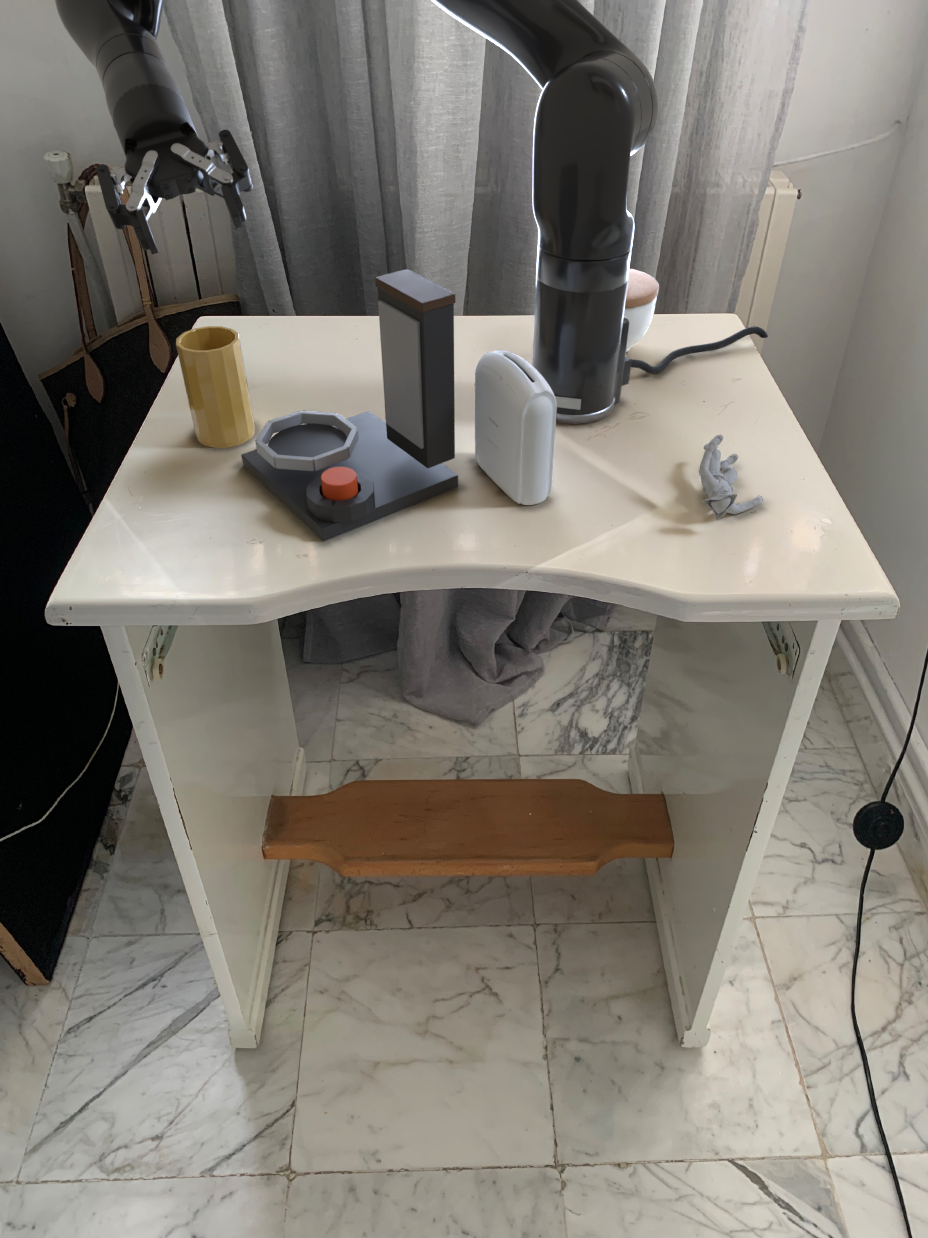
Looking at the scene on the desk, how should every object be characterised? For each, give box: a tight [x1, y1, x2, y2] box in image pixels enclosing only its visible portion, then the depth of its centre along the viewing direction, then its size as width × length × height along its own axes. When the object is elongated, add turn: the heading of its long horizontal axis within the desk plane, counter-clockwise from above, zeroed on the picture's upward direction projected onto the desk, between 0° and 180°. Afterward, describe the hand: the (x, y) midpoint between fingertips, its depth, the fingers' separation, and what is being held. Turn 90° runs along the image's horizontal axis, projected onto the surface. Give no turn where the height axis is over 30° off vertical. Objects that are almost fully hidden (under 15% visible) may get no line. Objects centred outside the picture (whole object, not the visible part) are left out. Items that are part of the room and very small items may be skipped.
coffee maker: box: [254, 268, 456, 471], centre depth 82 cm, size 15×15×16 cm
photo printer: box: [474, 349, 557, 506], centre depth 84 cm, size 10×4×12 cm, turn 26°
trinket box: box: [624, 268, 660, 353], centre depth 109 cm, size 11×11×9 cm
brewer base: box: [240, 410, 459, 542], centre depth 88 cm, size 15×16×3 cm
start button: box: [321, 467, 358, 501], centre depth 81 cm, size 3×3×2 cm
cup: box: [175, 325, 256, 449], centre depth 92 cm, size 6×6×10 cm
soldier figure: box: [698, 434, 764, 521], centre depth 85 cm, size 8×5×12 cm
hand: (195, 234), depth 87 cm, fingers open, 8 cm apart
